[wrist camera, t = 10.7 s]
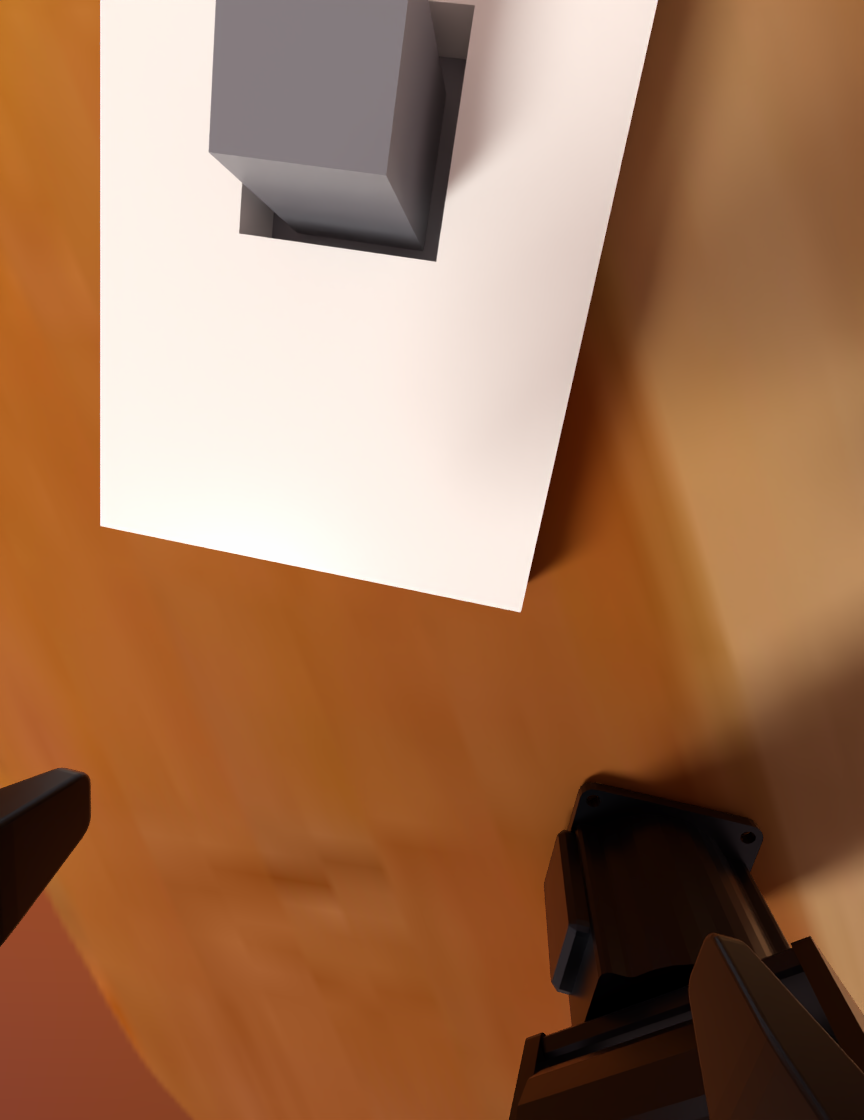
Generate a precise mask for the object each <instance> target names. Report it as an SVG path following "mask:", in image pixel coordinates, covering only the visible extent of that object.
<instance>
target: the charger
mask: <svg viewBox="0 0 864 1120" xmlns="http://www.w3.org/2000/svg"><path fill="white" fill-rule="evenodd" d="M445 101H446V90H445V84H444V79H443V74H442V69H441V64H440V58H439V53H438V48H437V43H436V38H435V33H434V27H433V22H432V17H431V12H430V7H429V1H428V0H216V6H215V27H214V49H213V70H212V91H211V112H210V133H209V153H210V154H211V155H212V156H213V157H214V158H216V159H217V160H218V161H219V162H220V163H221V164H222V165H223V166H224V167H225V168H226V169H228V170H229V171H230V172H231V173H232V174H233V175H234V176H235V177H236V178H237V179H239V180H240V181H241V182H242V183H243V184H244V185H245V186H246V187H247V188H248V189H250V190H251V191H252V192H253V193H254V194H255V195H256V196H257V197H258V198H259V199H261V200H262V201H263V202H264V203H265V204H266V205H267V206H268V207H269V208H270V209H271V210H273V211H274V212H275V213H276V214H277V215H278V216H279V217H280V218H281V219H282V220H284V221H285V222H286V223H287V224H288V225H289V226H290V227H291V228H292V229H293V230H295V231H296V232H297V233H301V234H308V235H315V236H322V237H329V238H336V239H343V240H350V241H356V242H363V243H370V244H377V245H384V246H391V247H398V248H405V249H412V250H419V251H424V245H425V238H426V231H427V224H428V217H429V210H430V204H431V197H432V190H433V183H434V176H435V169H436V162H437V156H438V149H439V142H440V135H441V128H442V121H443V114H444V108H445Z"/></svg>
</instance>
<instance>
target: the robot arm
mask: <svg viewBox="0 0 864 1120" xmlns="http://www.w3.org/2000/svg"><path fill="white" fill-rule="evenodd" d="M591 795H596V796H598V797H597V798H596V799H594V800H590V799H588V796H591ZM90 818H91V785H90V778H89V776H88V775H87V774H86V773H84V772H80V771H76V770H72V769H68V768H57V769H54V770H51V771H48V772H46V773H43V774H40V775H37V776H34V777H32V778H29V779H26V780H23V781H20V782H18V783H15V784H12V785H9V786H7V787H4V788H1V789H0V946H1V945H2V944H3V943H4V942H5V940H6V939H7V938H8V936H9V935H10V934H11V933H12V931H13V930H14V929H15V928H16V926H17V925H18V924H19V922H20V921H21V920H22V918H23V916H25V914H26V913H27V912H28V910H29V909H30V907H31V906H32V905H33V903H34V902H35V900H36V899H37V898H38V897H39V895H40V894H41V893H42V891H43V890H44V889H45V887H46V886H47V885H48V883H49V882H50V881H51V879H52V878H53V877H54V875H55V874H56V873H57V871H58V870H59V869H60V867H61V866H62V864H63V863H64V862H65V860H66V859H67V858H68V856H69V855H70V854H71V852H72V851H73V850H74V848H75V847H76V846H77V844H78V843H79V842H80V840H81V839H82V837H83V836H84V834H85V833H86V831H87V829H88V826H89V823H90ZM744 832H750V833H749V834H747V835H742V833H744ZM762 841H763V835H762V832H761V830H760V829H759V827H758V826H757V824H756V823H755V822H754V821H753V820H751V819H748V818H744V817H740V816H736V815H732V814H727V813H723V812H719V811H715V810H710V809H706V808H702V807H697V806H693V805H689V804H685V803H680V802H676V801H672V800H667V799H663V798H659V797H655V796H650V795H646V794H642V793H637V792H633V791H629V790H625V789H620V788H616V787H612V786H608V785H603V784H599V783H593V782H589V783H585V784H584V785H582V786H581V787H580V789H579V791H578V794H577V798H576V801H575V805H574V808H573V812H572V815H571V819H570V823H569V826H568V830H563V831H561V832H560V833H559V834H558V835H557V838H556V842H555V846H554V849H553V853H552V856H551V860H550V864H549V867H548V871H547V875H546V878H545V882H544V892H545V905H546V919H547V933H548V947H549V960H550V974H551V982H552V984H553V985H554V987H555V989H556V991H558V992H561V993H565V994H569V1003H570V1013H571V1023H572V1027H569V1028H566V1029H563V1030H560V1031H558V1032H555V1033H552V1034H549V1035H545V1034H544V1033H539V1034H537V1035H534V1036H531V1037H528V1038H526V1041H525V1045H524V1050H523V1055H522V1060H521V1064H520V1069H519V1074H518V1079H517V1084H516V1088H515V1093H514V1098H513V1103H512V1107H511V1112H510V1117H509V1120H864V1015H863V1013H862V1012H861V1010H860V1009H859V1007H858V1006H857V1004H856V1003H855V1001H854V1000H853V998H852V997H851V995H850V994H849V992H848V991H847V990H846V988H845V987H844V985H843V984H842V982H841V981H840V979H839V978H838V976H837V975H836V973H835V972H834V970H833V969H832V967H831V966H830V964H829V963H828V961H827V960H826V958H825V957H824V955H823V954H822V952H821V951H820V949H819V948H818V946H817V945H816V944H815V942H814V941H813V939H812V938H811V936H809V937H807V938H804V939H801V940H798V941H795V942H793V943H791V945H792V948H790V946H789V944H788V942H787V940H786V939H785V937H784V935H783V933H782V931H781V929H780V927H779V926H778V924H777V922H776V920H775V918H774V916H773V914H772V913H771V911H770V909H769V907H768V905H767V903H766V901H765V899H764V898H763V896H762V894H761V892H760V890H759V888H758V886H757V885H756V883H755V881H754V879H753V877H752V875H751V873H750V871H751V869H752V866H753V864H754V861H755V859H756V856H757V854H758V851H759V849H760V846H761V844H762Z"/></svg>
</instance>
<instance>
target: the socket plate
mask: <svg viewBox="0 0 864 1120" xmlns="http://www.w3.org/2000/svg"><path fill="white" fill-rule="evenodd" d="M428 1H429V7H430V12H431V17H432V22H433V27H434V33H435V38H436V43H437V48H438V53H439V58H440V64H441V69H442V74H443V79H444V84H445V90H446V101H445V108H444V114H443V121H442V128H441V135H440V142H439V149H438V156H437V162H436V169H435V176H434V183H433V190H432V197H431V204H430V210H429V217H428V224H427V231H426V238H425V245H424V251H419V250H412V249H405V248H398V247H391V246H384V245H377V244H370V243H363V242H356V241H350V240H343V239H336V238H329V237H322V236H315V235H308V234H301V233H297V232H296V231H295V230H293V229H292V228H291V227H290V226H289V225H288V224H287V223H286V222H285V221H284V220H282V219H281V218H280V217H279V216H278V215H277V214H276V213H275V212H274V211H273V210H271V209H270V208H269V207H268V206H267V205H266V204H265V203H264V202H263V201H262V200H261V199H259V198H258V197H257V196H256V195H255V194H254V193H253V192H252V191H251V190H250V189H248V188H247V187H246V186H245V185H244V184H243V183H242V182H241V181H240V180H239V179H237V178H236V177H235V176H234V175H233V174H232V173H231V172H230V171H229V170H228V169H226V168H225V167H224V166H223V165H222V164H221V163H220V162H219V161H218V160H217V159H216V158H214V157H213V156H212V155H211V154H210V153H209V133H210V112H211V91H212V70H213V49H214V27H215V6H216V0H100V526H103V527H108V528H113V529H118V530H123V531H128V532H132V533H137V534H142V535H147V536H152V537H157V538H162V539H167V540H171V541H176V542H181V543H186V544H191V545H196V546H201V547H205V548H210V549H215V550H220V551H225V552H230V553H235V554H239V555H244V556H249V557H254V558H259V559H264V560H269V561H273V562H278V563H283V564H288V565H293V566H298V567H303V568H308V569H312V570H317V571H322V572H327V573H332V574H337V575H342V576H346V577H351V578H356V579H361V580H366V581H371V582H376V583H380V584H385V585H390V586H395V587H400V588H405V589H410V590H415V591H419V592H424V593H429V594H434V595H439V596H444V597H449V598H453V599H458V600H463V601H468V602H473V603H478V604H483V605H487V606H492V607H497V608H502V609H507V610H512V611H517V612H521V608H522V604H523V600H524V595H525V591H526V586H527V582H528V577H529V573H530V568H531V564H532V559H533V555H534V551H535V546H536V542H537V537H538V533H539V528H540V524H541V519H542V515H543V510H544V506H545V501H546V497H547V493H548V488H549V484H550V479H551V475H552V470H553V466H554V461H555V457H556V452H557V448H558V444H559V439H560V435H561V430H562V426H563V421H564V417H565V412H566V408H567V403H568V399H569V395H570V390H571V386H572V381H573V377H574V372H575V368H576V363H577V359H578V354H579V350H580V345H581V341H582V337H583V332H584V328H585V323H586V319H587V314H588V310H589V305H590V301H591V296H592V292H593V288H594V283H595V279H596V274H597V270H598V265H599V261H600V256H601V252H602V247H603V243H604V238H605V234H606V230H607V225H608V221H609V216H610V212H611V207H612V203H613V198H614V194H615V189H616V185H617V181H618V176H619V172H620V167H621V163H622V158H623V154H624V149H625V145H626V140H627V136H628V131H629V127H630V123H631V118H632V114H633V109H634V105H635V100H636V96H637V91H638V87H639V82H640V78H641V74H642V69H643V65H644V60H645V56H646V51H647V47H648V42H649V38H650V33H651V29H652V24H653V20H654V16H655V11H656V7H657V2H658V0H428Z"/></svg>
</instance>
